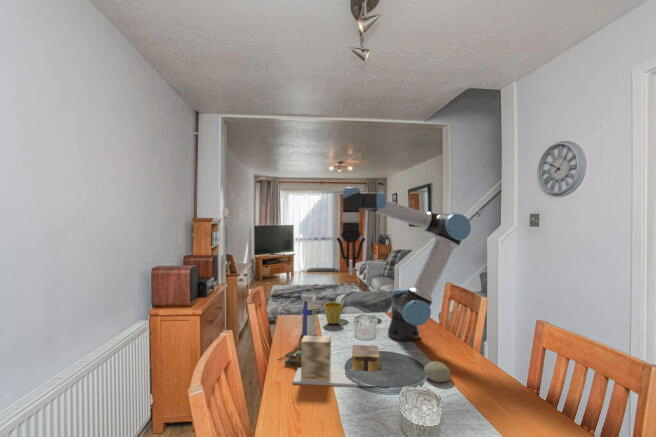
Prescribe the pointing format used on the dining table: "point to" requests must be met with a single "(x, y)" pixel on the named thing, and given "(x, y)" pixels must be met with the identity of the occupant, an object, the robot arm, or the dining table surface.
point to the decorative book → (293, 357)
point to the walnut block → (365, 358)
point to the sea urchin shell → (437, 372)
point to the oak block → (316, 357)
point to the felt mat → (335, 379)
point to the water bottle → (309, 314)
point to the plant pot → (333, 312)
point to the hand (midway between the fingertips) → (350, 274)
